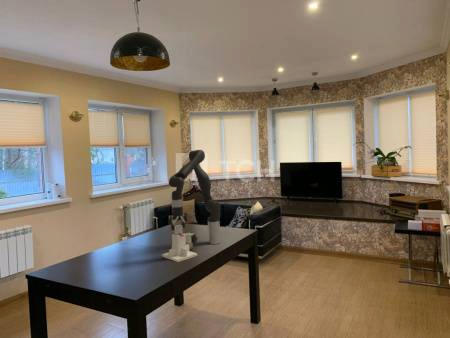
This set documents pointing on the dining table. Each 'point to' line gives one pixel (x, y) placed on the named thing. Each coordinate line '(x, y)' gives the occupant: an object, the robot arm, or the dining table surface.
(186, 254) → the stand base
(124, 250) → the dining table surface
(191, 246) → the pneumatic valve
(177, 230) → the column
